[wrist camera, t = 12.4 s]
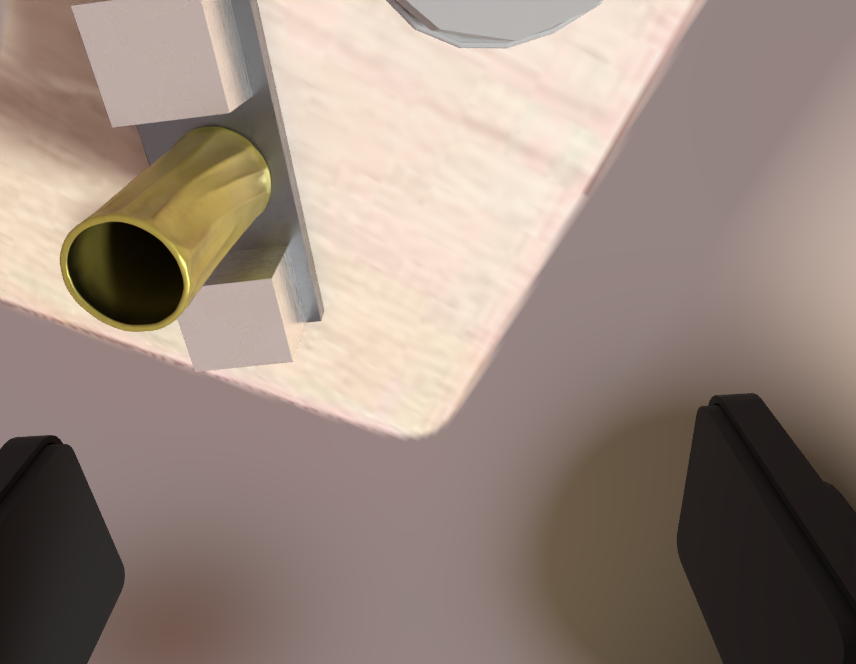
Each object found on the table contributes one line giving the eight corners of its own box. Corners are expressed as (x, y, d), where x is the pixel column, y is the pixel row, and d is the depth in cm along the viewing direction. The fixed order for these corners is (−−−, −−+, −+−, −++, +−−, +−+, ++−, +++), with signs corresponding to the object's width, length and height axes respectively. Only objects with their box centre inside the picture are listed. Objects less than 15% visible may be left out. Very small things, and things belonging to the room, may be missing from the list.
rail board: (109, 1, 36) (49, 8, 31) (252, -18, 36) (219, -15, 30) (210, 322, 46) (179, 373, 40) (324, 310, 45) (309, 360, 40)
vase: (248, 244, 41) (172, 364, 29) (153, 197, 40) (29, 302, 27) (288, 158, 39) (223, 249, 26) (188, 105, 37) (69, 174, 25)
